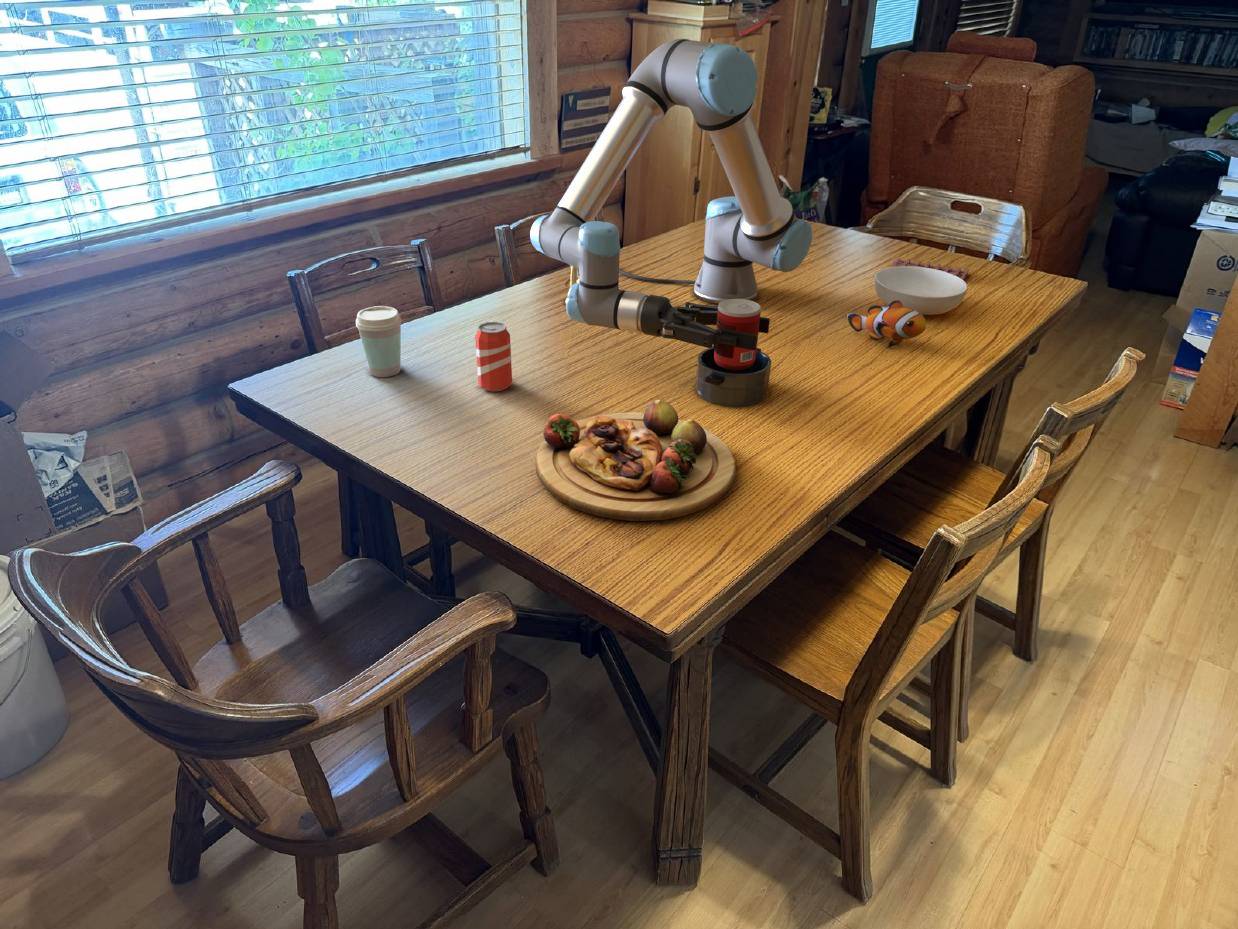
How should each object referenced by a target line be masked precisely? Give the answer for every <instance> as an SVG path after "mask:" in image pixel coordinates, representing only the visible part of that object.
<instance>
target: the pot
mask: <svg viewBox="0 0 1238 929" xmlns="http://www.w3.org/2000/svg"><path fill="white" fill-rule="evenodd" d="M714 351H715V349H713V347H712V348H705V349H703V350H701V351H700V352H699V354H698V355H697V361H696V362H697V363H696V377H695V391H696V394H697V395H698V396H699V397H700V398H701V399H703V400H704V401H706V402H709V403H710V404H714V405H717V406H721V407H722V406H723V407H730V408H745V407H752V406H755V405H758V404H761V403H762V402H763V401H765V400H766V399H767V398H768V394H769V388H770V382H771V381H770V379H771V372H772V363H773V362H772V360H771V358H770V356H769V355H767V354H766V353H765V352H764V351H762V350H761V351H759V350H756V357H755V361H754V363H753V365H752V366H751V367H749V368H746V369H741V370H731V369H726V368H723V367H720V366H719V365H717V364H716V363H715V359H714ZM710 374H714V375H718V376H722V377H725V378H724V382H723V383H722V384H721V385H719V386H717V385H714V384H710V383H707V382H705V378H706V377H707V376H708V375H710Z"/></svg>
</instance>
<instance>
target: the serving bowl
mask: <svg viewBox="0 0 1238 929" xmlns="http://www.w3.org/2000/svg"><path fill="white" fill-rule="evenodd" d="M873 279H874V282H873V284H874V290H875V293H876V295H877V297H878V298H879V299H880V300H881V301H882V302H883V303H884V304H885V305H886V306H887V305H889V304H890V303H891V302H893V301H894V300H898V301H900V302H901V303H902V305H903V306H904V307H905V308H910V309H913V310H915V311H917V312H918V313H920V314H921V315H924V316H935V315H936V316H937V315H941V314H945V313H947V312H950V311H952V310H954V309H955V308H956V307H958V306H959V305H960V304H961V303H962V302H963V300H964V298H965V296H966V294H967V292H968V289H969V287H968V283H966V281H965V280H964V281H963V280H962V279H961V278H959V277H957V276H955V275H953V274H950V273H947V272H944V271H940V270H936V269H931V268H924V267H914V266H898V267H891V266H890V267H885V268H882V269H880V270H878V271H877V272H876V273H875V274H874V278H873Z"/></svg>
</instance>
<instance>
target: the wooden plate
mask: <svg viewBox="0 0 1238 929" xmlns="http://www.w3.org/2000/svg"><path fill="white" fill-rule="evenodd" d="M543 429H544V430H543V439H544V440H543V442H542V443H541V445H540V446H539V448H538V450H537V452H536V456H535V471H536V475H537V478H538V480H539V481H540V484H542V486H543V487H544V488H545V489H546V490H547V491H548V492H549V493H550V494H551V495H552V496H553V497H554V498H555V499H557V500H558V501H560V502H561V503H562V504H565V505H567V506H569V507H571V508H572V509H575V510H577V511H580V512H584V513H586V514H590V515H593V516H597V517H602V518H607V519H612V520H619V521H633V522H634V521H636V522H646V521H648V522H649V521H663V520H668V519H673V518H679V517H683V516H686V515H690V514H692V513H696V512H699V511H702V510H704V509H705V508H708V507H710V506H711V505H713V504H714V503H716V502H717V501H718V500H720V499H721V498H722V497H723V496H724V495H725V494H726V493H727V492H728V491H729V490H730V488H731V486H732V485H733V483H734V480H735V478H736V472H737V465H736V460H735V458H734V457H735V456H734V455H733V452H732V451H731V448H729V446H728V445H727V444H726V442H724V441H723V440H722V439H721V438H719V437H718V436H716V434H714V433H713V432H711V431H709V430H707V429H705V428H704V427H702V425H700V424H699V423H698V422H697V421H696V420H693V419H691V418H688V419H686V420H684V419H680V418H679V415H678V413H677V410H676V409H675V407H673V405H671V404H670V403H669V402H667V401H665V400H663V399H655V400H653V401H652V402H651V403H650V404H649V405H648V406H647V407H646V409H645V411H644V412H612V413H603V414H598V415H592V416H591V415H590V416H587V417H584V418H580V419H578V420H574V419H573V418H571V417H570V416H569V415H567V414H564V413H563V414H561V413H556V414H554V415H552V416H550V417H549V418H548V420H547V423H546V424H545V425H544V428H543Z"/></svg>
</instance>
